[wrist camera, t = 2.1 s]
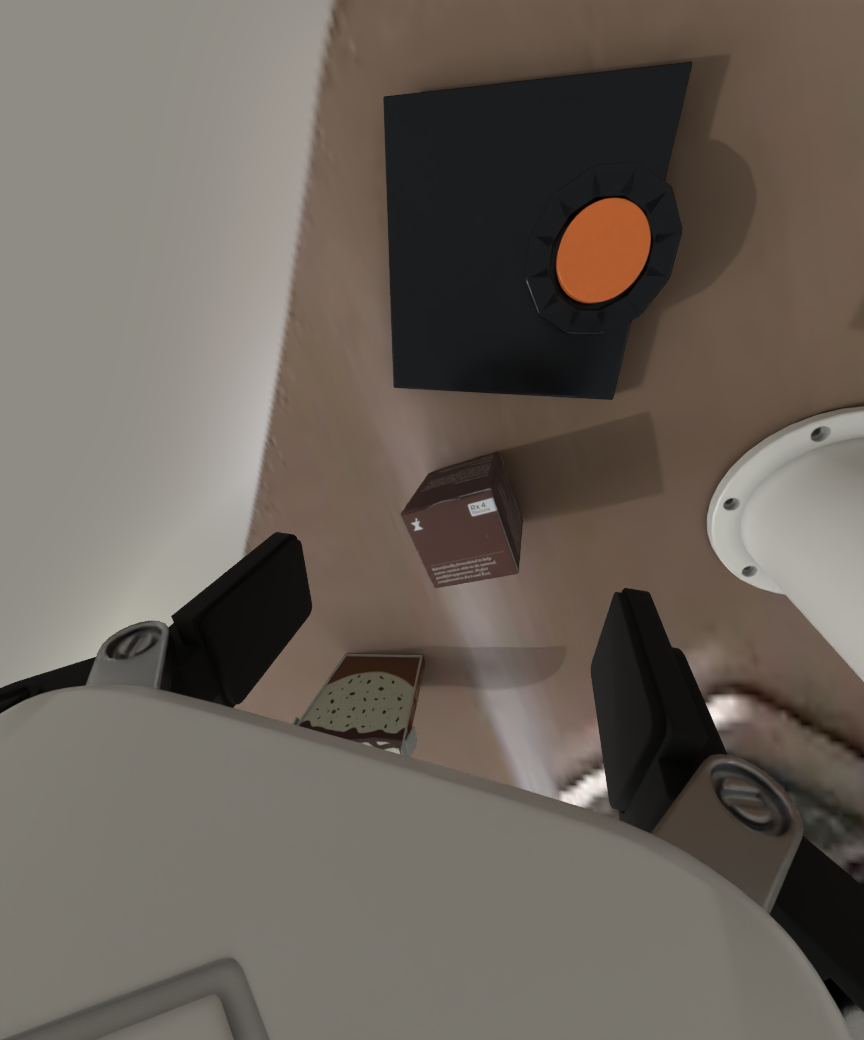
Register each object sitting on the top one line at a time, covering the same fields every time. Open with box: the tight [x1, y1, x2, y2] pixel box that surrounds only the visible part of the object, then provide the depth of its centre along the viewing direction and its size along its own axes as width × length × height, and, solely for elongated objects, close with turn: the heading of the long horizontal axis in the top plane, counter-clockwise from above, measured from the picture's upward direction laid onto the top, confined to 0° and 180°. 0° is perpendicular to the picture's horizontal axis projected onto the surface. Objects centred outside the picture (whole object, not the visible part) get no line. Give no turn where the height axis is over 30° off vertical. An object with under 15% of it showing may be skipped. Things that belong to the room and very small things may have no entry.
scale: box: [384, 62, 692, 400], centre depth 20 cm, size 15×14×3 cm
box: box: [401, 452, 523, 588], centre depth 26 cm, size 6×6×7 cm
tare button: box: [556, 198, 651, 304], centre depth 18 cm, size 4×4×2 cm
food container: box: [293, 654, 424, 757], centre depth 38 cm, size 12×6×10 cm, turn 104°
